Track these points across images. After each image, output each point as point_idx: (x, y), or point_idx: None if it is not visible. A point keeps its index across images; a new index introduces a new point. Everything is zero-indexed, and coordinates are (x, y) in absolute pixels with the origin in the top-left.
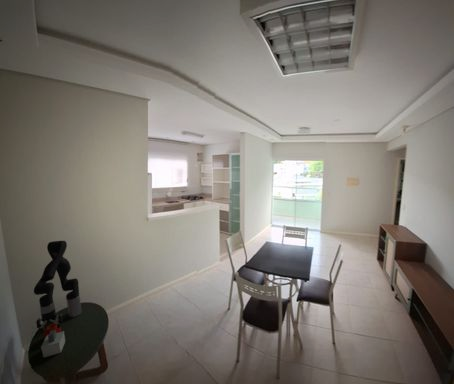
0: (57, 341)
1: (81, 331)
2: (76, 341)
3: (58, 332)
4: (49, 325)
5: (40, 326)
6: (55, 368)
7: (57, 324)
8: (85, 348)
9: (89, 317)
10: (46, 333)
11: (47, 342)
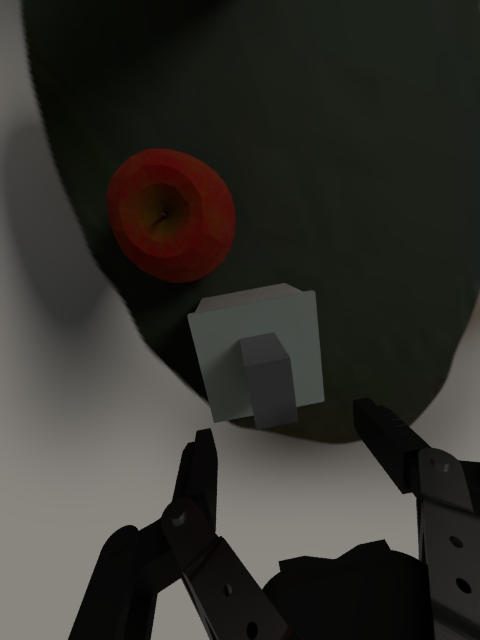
0: (307, 391)
1: (357, 214)
2: (350, 298)
3: (232, 239)
4: (129, 187)
5: (171, 577)
6: (307, 433)
7: (409, 488)
8: (409, 355)
9: (380, 41)
10: (158, 273)
11: (236, 387)
